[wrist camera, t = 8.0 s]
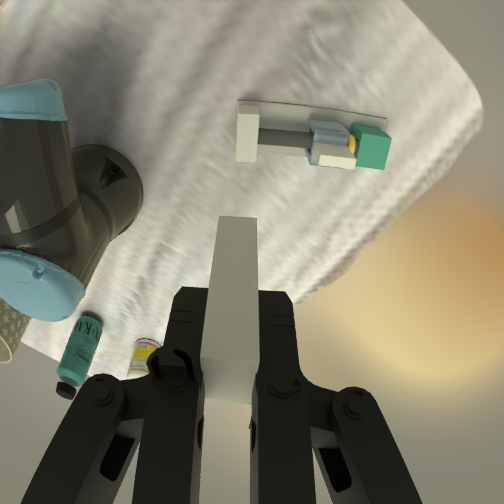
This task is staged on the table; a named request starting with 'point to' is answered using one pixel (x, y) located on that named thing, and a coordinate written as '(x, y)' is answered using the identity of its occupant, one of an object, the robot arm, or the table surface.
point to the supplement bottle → (141, 358)
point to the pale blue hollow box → (329, 145)
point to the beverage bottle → (78, 356)
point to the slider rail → (305, 132)
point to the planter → (10, 330)
